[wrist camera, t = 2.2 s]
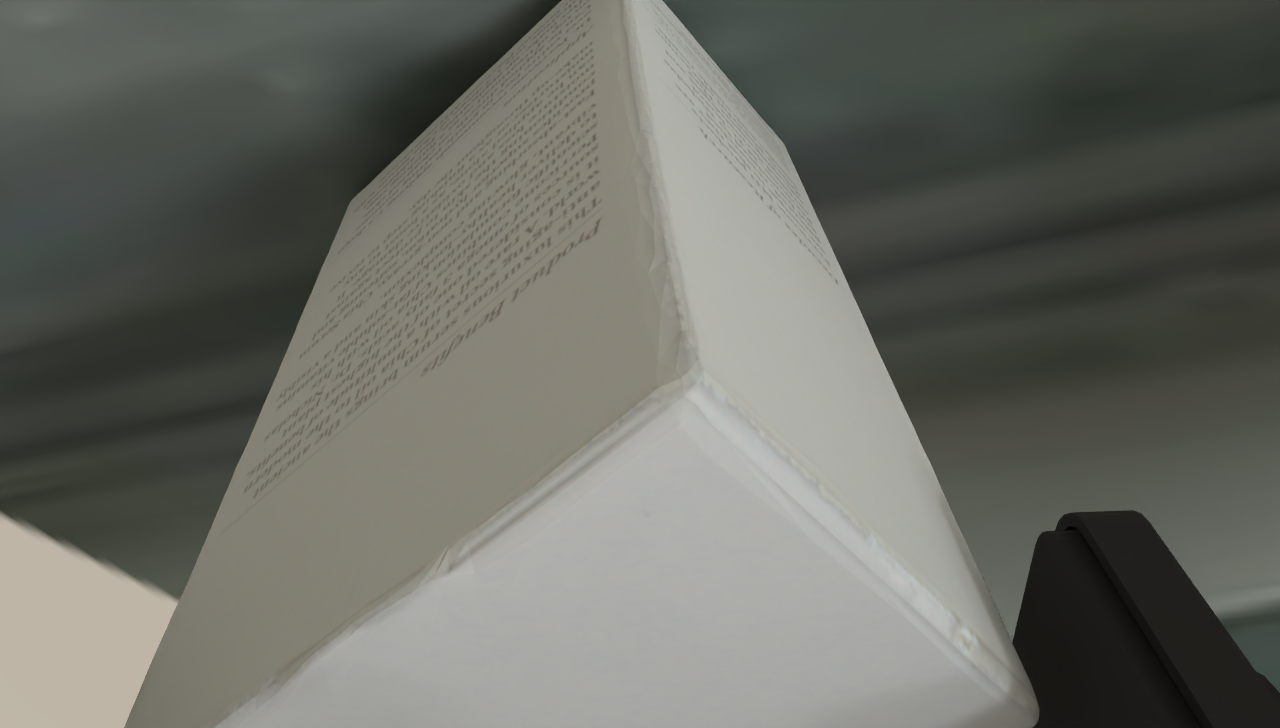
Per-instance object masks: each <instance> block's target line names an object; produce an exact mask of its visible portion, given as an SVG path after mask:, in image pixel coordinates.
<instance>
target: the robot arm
mask: <svg viewBox="0 0 1280 728" xmlns="http://www.w3.org/2000/svg"><path fill="white" fill-rule="evenodd" d="M1013 646H1014V648H1015V650H1016V652H1017V654H1018V657H1019V659H1020V661H1021V663H1022V665H1023V667H1024V670H1025V672H1026V674H1027V676H1028V678H1029V680H1030V682H1031V685H1032V688H1033V690H1034V693H1035V696H1036V699H1037V702H1038V706H1039V710H1040V711H1039V720H1038V722H1037V724H1036V725H1035V726H1034V727H1033V728H1280V693H1279V692H1278V691H1277V689H1276V688H1275V687H1274V686H1273V685H1272V684H1271V683H1270V682H1269V681H1268V680H1267V679H1266V677H1265V676H1263V675H1261V674H1260V673H1258V672H1256V671H1255V670H1254V668H1253V667H1252V666H1251V664H1250V663H1249V661H1248V660H1247V659H1246V657H1245V656H1244V654H1243V653H1242V651H1241V650H1240V649H1239V647H1238V646H1237V644H1236V643H1235V642H1234V640H1233V639H1232V637H1231V636H1230V635H1229V633H1228V632H1227V630H1226V629H1225V628H1224V626H1223V625H1222V623H1221V622H1220V621H1219V619H1218V618H1217V616H1216V615H1215V614H1214V612H1213V611H1212V609H1211V608H1210V607H1209V605H1208V604H1207V602H1206V601H1205V600H1204V598H1203V597H1202V595H1201V594H1200V593H1199V591H1198V590H1197V588H1196V587H1195V586H1194V584H1193V583H1192V581H1191V580H1190V579H1189V577H1188V576H1187V574H1186V573H1185V572H1184V570H1183V569H1182V567H1181V566H1180V565H1179V563H1178V562H1177V560H1176V559H1175V557H1174V556H1173V555H1172V553H1171V552H1170V550H1169V549H1168V548H1167V546H1166V545H1165V543H1164V542H1163V541H1162V539H1161V538H1160V536H1159V535H1158V534H1157V532H1156V531H1155V529H1154V528H1153V527H1152V525H1151V524H1150V522H1149V521H1148V520H1147V519H1146V518H1145V517H1144V516H1143V515H1142V514H1141V513H1138V512H1136V511H1133V510H1132V511H1105V512H1077V513H1068V514H1065V515H1063V517H1062V518H1061V519H1060V520H1059V522H1058V524H1057V527H1056V530H1055V531H1046V532H1042V533H1041V535H1040V536H1039V537H1038V540H1037V542H1036V545H1035V549H1034V554H1033V558H1032V562H1031V566H1030V571H1029V575H1028V579H1027V583H1026V588H1025V592H1024V596H1023V600H1022V605H1021V609H1020V613H1019V617H1018V621H1017V626H1016V630H1015V634H1014V638H1013Z"/></svg>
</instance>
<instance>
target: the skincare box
mask: <svg viewBox="0 0 1280 728" xmlns="http://www.w3.org/2000/svg"><path fill="white" fill-rule="evenodd" d="M1039 711H1040V710H1039V706H1038V702H1037V699H1036V696H1035V693H1034V690H1033V688H1032V685H1031V682H1030V680H1029V678H1028V676H1027V674H1026V672H1025V670H1024V667H1023V665H1022V663H1021V661H1020V659H1019V657H1018V654H1017V652H1016V650H1015V648H1014V646H1013V643H1012V641H1011V639H1010V637H1009V634H1008V632H1007V630H1006V628H1005V626H1004V623H1003V621H1002V619H1001V617H1000V615H999V612H998V610H997V608H996V606H995V604H994V602H993V599H992V597H991V595H990V593H989V591H988V588H987V586H986V584H985V582H984V580H983V578H982V576H981V573H980V571H979V569H978V567H977V565H976V563H975V561H974V558H973V556H972V554H971V552H970V550H969V548H968V546H967V543H966V541H965V539H964V537H963V535H962V533H961V531H960V528H959V526H958V524H957V522H956V520H955V518H954V515H953V513H952V511H951V509H950V506H949V504H948V502H947V500H946V497H945V495H944V493H943V491H942V489H941V486H940V484H939V482H938V480H937V477H936V475H935V473H934V470H933V468H932V466H931V463H930V461H929V459H928V457H927V455H926V453H925V452H924V450H923V447H922V445H921V443H920V441H919V438H918V436H917V434H916V431H915V429H914V427H913V425H912V423H911V421H910V419H909V416H908V414H907V412H906V410H905V408H904V406H903V404H902V402H901V400H900V397H899V395H898V393H897V391H896V389H895V386H894V384H893V382H892V380H891V378H890V376H889V373H888V371H887V369H886V367H885V365H884V363H883V361H882V359H881V356H880V354H879V352H878V350H877V348H876V346H875V343H874V341H873V339H872V336H871V334H870V332H869V329H868V327H867V325H866V323H865V320H864V318H863V316H862V314H861V312H860V309H859V307H858V305H857V303H856V301H855V299H854V297H853V294H852V292H851V290H850V288H849V285H848V283H847V281H846V279H845V276H844V274H843V272H842V270H841V267H840V265H839V263H838V261H837V259H836V257H835V254H834V252H833V250H832V248H831V246H830V244H829V241H828V239H827V237H826V235H825V233H824V231H823V229H822V226H821V224H820V222H819V220H818V218H817V215H816V213H815V211H814V209H813V207H812V204H811V202H810V200H809V198H808V195H807V193H806V191H805V189H804V187H803V184H802V182H801V180H800V178H799V176H798V173H797V171H796V169H795V167H794V165H793V162H792V160H791V158H790V156H789V154H788V151H787V149H786V147H785V145H784V143H783V142H782V141H781V140H780V139H779V137H778V136H777V135H776V134H775V132H774V131H773V130H772V129H771V128H770V127H769V126H768V125H767V124H766V123H765V121H764V120H763V119H762V118H761V117H760V115H759V114H758V113H757V112H756V111H755V110H754V108H753V107H752V106H751V105H750V104H749V103H748V101H747V100H746V99H745V98H744V97H743V95H742V94H741V93H740V92H739V91H738V89H737V88H736V87H735V86H734V85H733V84H732V82H731V81H730V80H729V79H728V78H727V76H726V75H725V74H724V73H723V72H722V70H721V69H720V68H719V67H718V66H717V65H716V63H715V62H714V61H713V60H712V59H711V57H710V56H709V55H708V54H707V53H706V51H705V50H704V49H703V48H702V47H701V46H700V44H699V43H698V42H697V41H696V40H695V38H694V37H693V36H692V35H691V34H690V32H689V31H688V30H687V29H686V28H685V26H684V25H683V24H682V23H681V22H680V20H679V19H678V18H677V17H676V16H675V15H674V13H673V12H672V11H671V10H670V9H669V8H668V6H667V5H666V4H665V3H664V2H663V1H662V0H561V1H560V2H559V3H558V4H557V5H556V6H555V7H554V8H553V9H552V10H551V11H550V12H549V13H548V14H547V15H546V16H545V17H543V18H542V19H541V20H540V21H539V22H538V23H537V24H536V25H535V26H534V27H533V28H532V29H531V30H530V31H529V32H528V33H527V34H526V35H525V36H524V37H523V38H521V39H520V40H519V41H518V42H517V43H516V44H515V45H514V46H513V47H512V48H511V49H510V50H509V51H508V52H507V53H506V54H505V55H504V56H503V57H502V58H501V59H500V60H499V61H497V62H496V63H495V64H494V65H493V66H492V67H491V68H490V69H489V70H488V71H487V72H485V73H484V74H483V75H482V76H481V77H480V78H479V79H478V80H477V81H476V82H475V83H474V84H473V85H472V86H471V87H470V88H469V89H468V90H467V91H466V92H465V93H464V94H462V95H461V96H460V97H459V98H458V99H457V100H456V101H455V102H454V103H453V104H452V105H451V106H450V107H449V108H448V109H447V110H446V111H445V112H443V113H442V114H441V115H440V116H439V117H438V118H437V119H436V120H435V121H434V122H433V123H432V124H431V125H430V126H429V127H428V128H427V129H426V130H425V131H424V132H423V133H422V134H421V135H420V136H418V137H417V138H416V139H415V140H414V141H413V142H412V143H411V144H410V145H409V146H408V147H407V148H406V149H405V150H404V151H403V152H402V153H401V154H400V155H399V156H398V157H396V158H395V159H394V160H393V161H392V162H391V163H390V164H389V165H388V166H387V167H386V168H385V169H384V170H383V171H382V172H381V173H380V174H379V175H378V176H377V177H376V178H375V179H374V180H373V181H372V182H371V183H369V184H368V185H367V186H366V187H365V188H364V189H363V190H362V191H361V192H360V193H358V194H357V195H356V196H355V197H354V198H353V199H352V200H351V202H350V204H349V206H348V208H347V211H346V213H345V215H344V218H343V220H342V222H341V225H340V227H339V229H338V232H337V234H336V237H335V239H334V241H333V243H332V245H331V248H330V251H329V253H328V255H327V257H326V259H325V262H324V264H323V266H322V268H321V271H320V273H319V275H318V278H317V280H316V283H315V285H314V288H313V290H312V293H311V295H310V297H309V299H308V301H307V304H306V306H305V308H304V311H303V313H302V315H301V318H300V320H299V322H298V325H297V328H296V330H295V333H294V335H293V338H292V340H291V342H290V345H289V347H288V349H287V352H286V354H285V356H284V358H283V361H282V363H281V366H280V368H279V371H278V373H277V376H276V378H275V380H274V382H273V385H272V387H271V389H270V392H269V394H268V396H267V398H266V401H265V403H264V405H263V408H262V410H261V413H260V415H259V417H258V420H257V422H256V424H255V427H254V429H253V432H252V434H251V436H250V439H249V441H248V443H247V445H246V448H245V450H244V452H243V454H242V456H241V458H240V460H239V462H238V464H237V467H236V469H235V471H234V474H233V477H232V479H231V482H230V484H229V486H228V489H227V491H226V493H225V495H224V498H223V500H222V502H221V505H220V507H219V510H218V512H217V514H216V517H215V519H214V522H213V524H212V526H211V529H210V531H209V533H208V536H207V538H206V540H205V543H204V545H203V547H202V550H201V552H200V554H199V557H198V559H197V561H196V564H195V566H194V568H193V571H192V573H191V575H190V578H189V580H188V582H187V585H186V587H185V589H184V592H183V594H182V596H181V598H180V600H179V603H178V605H177V607H176V609H175V612H174V614H173V616H172V618H171V620H170V623H169V625H168V627H167V629H166V631H165V633H164V636H163V638H162V640H161V642H160V645H159V647H158V649H157V651H156V654H155V656H154V658H153V660H152V663H151V665H150V668H149V670H148V672H147V675H146V677H145V680H144V682H143V684H142V687H141V689H140V692H139V694H138V696H137V698H136V701H135V703H134V706H133V708H132V710H131V713H130V715H129V718H128V720H127V723H126V725H125V727H124V728H1033V727H1034V726H1035V725H1036V724H1037V722H1038V720H1039Z"/></svg>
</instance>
